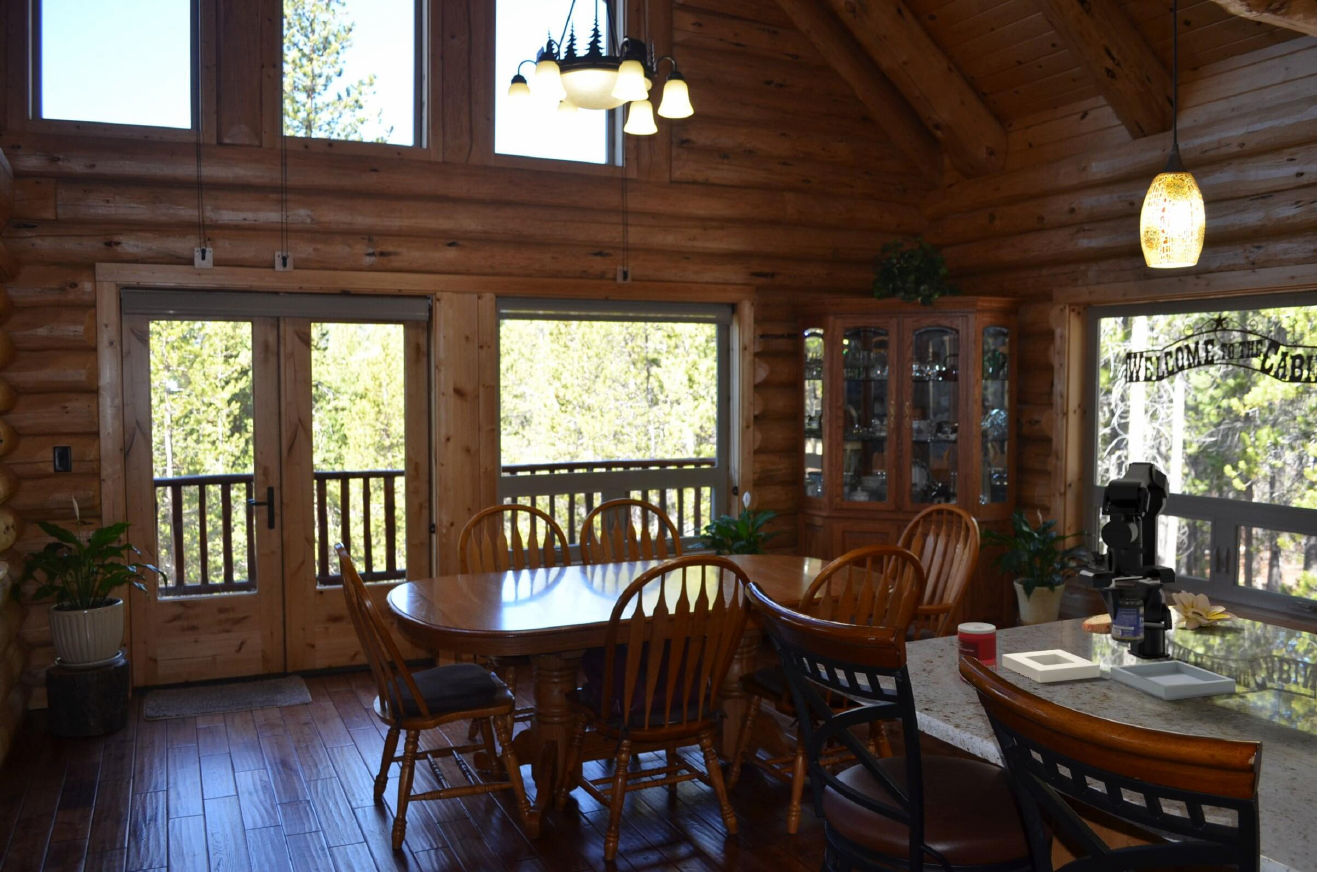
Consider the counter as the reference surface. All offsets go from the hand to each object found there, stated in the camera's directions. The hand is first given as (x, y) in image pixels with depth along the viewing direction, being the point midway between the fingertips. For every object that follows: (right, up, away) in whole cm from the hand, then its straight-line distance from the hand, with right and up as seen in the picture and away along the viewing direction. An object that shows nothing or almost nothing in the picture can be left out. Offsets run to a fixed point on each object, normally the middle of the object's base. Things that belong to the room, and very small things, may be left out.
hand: (1127, 618), depth 212 cm
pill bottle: (0, -5, 0) cm, 5 cm away
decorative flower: (+38, -10, +44) cm, 59 cm away
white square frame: (-12, -13, +9) cm, 20 cm away
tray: (+7, -13, -4) cm, 15 cm away
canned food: (-29, -14, +5) cm, 32 cm away
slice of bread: (+20, -11, +47) cm, 53 cm away
